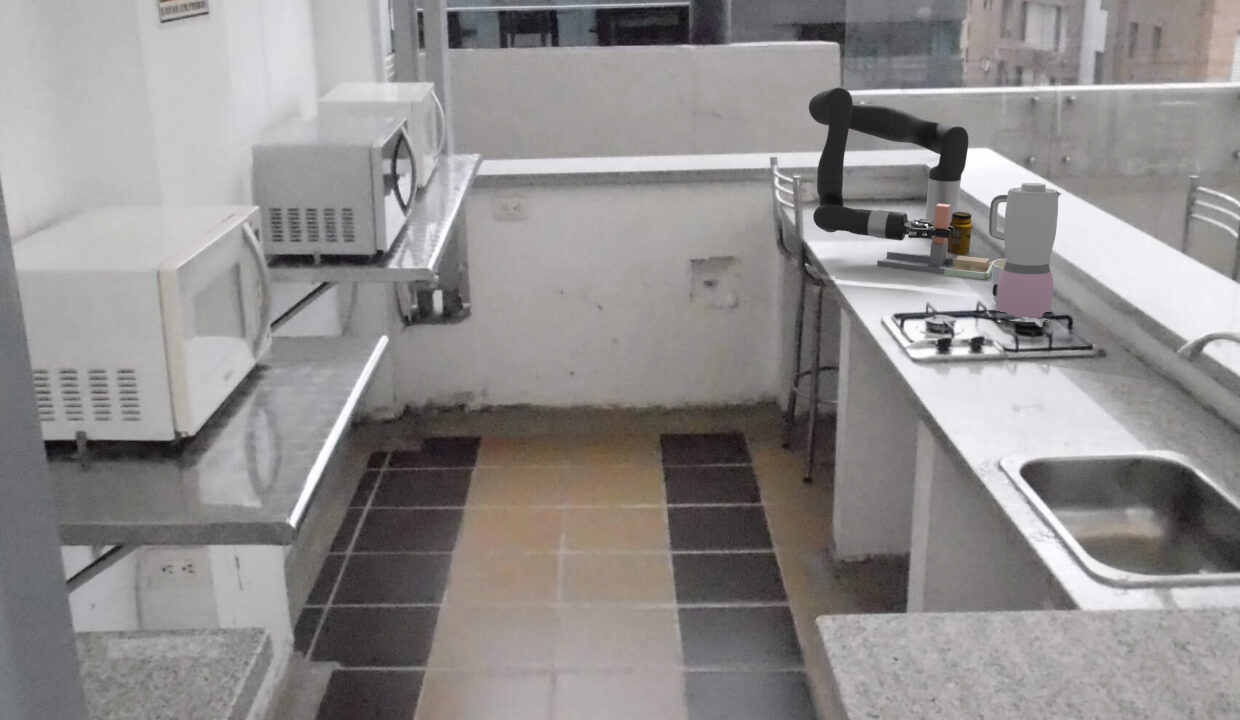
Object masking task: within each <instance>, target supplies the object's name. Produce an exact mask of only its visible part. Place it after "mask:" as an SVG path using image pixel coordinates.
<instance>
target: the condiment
mask: <svg viewBox="0 0 1240 720" xmlns="http://www.w3.org/2000/svg"><path fill="white" fill-rule="evenodd" d="M951 220H952V221H951V223H950V226H952V227H954V231H953V234H952V235H950V237H949V238H947V240H948V242H947V251H946V253H949V254H951V255H952V254H953V255H968V254H969V252H970V245H971V235H972V229H973V228H972V227H973V225H972V214H971V213H969V212H966V211H965V212H963V211H958V212H955V213H953V214H952V219H951Z"/></svg>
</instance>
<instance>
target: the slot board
mask: <svg viewBox="0 0 1240 720" xmlns="http://www.w3.org/2000/svg"><path fill="white" fill-rule="evenodd" d="M954 258H955V257H947V256H946V260H945V263H944V264H943V265H942V266H941V267H939V266H930V265H929V260H930V254H929V255H928V254H921V253H920V254H919V253H912V252H911V253H910V252H903V251H896V250H894V251H893V250H887V251H886V257H885V258H884V259H877V261H876V267H879V268H880V267H881V268H889V269H895V270H896V269H897V270H904V271H914V272H921V273H930V274H940V275H945V274H944V271H945V268H950V269H951V267H952V266H953V259H954Z"/></svg>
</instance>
